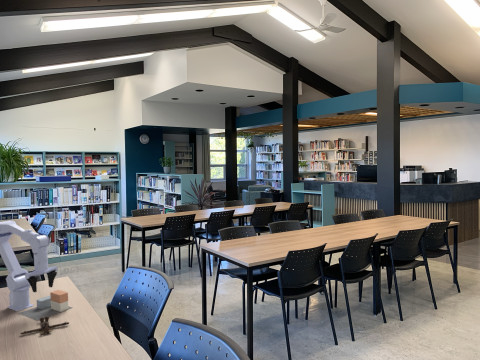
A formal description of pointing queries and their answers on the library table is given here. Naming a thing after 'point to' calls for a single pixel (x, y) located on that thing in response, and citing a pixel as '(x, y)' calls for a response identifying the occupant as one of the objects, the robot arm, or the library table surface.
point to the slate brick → (44, 302)
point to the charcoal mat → (40, 313)
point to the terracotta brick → (59, 296)
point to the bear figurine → (45, 326)
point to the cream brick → (59, 306)
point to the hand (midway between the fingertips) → (42, 289)
